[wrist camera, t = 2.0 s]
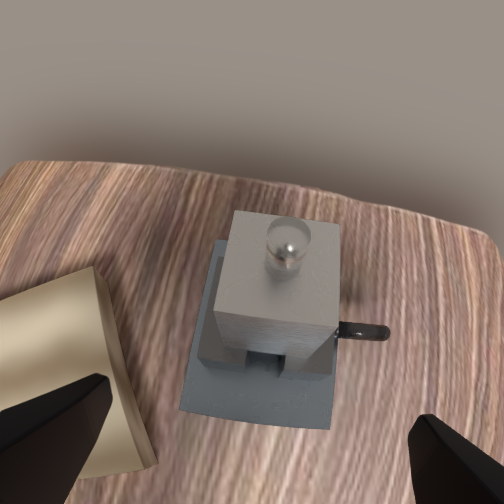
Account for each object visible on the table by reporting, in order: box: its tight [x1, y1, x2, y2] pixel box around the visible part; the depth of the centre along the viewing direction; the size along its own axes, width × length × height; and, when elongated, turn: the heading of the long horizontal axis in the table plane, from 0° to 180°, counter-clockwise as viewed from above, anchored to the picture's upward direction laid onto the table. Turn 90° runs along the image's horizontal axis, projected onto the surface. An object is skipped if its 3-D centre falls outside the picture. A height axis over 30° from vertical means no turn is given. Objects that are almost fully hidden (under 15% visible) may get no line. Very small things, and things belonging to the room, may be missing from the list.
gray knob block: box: [213, 210, 340, 358], centre depth 13 cm, size 4×4×8 cm
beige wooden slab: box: [0, 266, 158, 479], centre depth 16 cm, size 14×16×3 cm
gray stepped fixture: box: [179, 239, 390, 430], centre depth 17 cm, size 12×12×8 cm
